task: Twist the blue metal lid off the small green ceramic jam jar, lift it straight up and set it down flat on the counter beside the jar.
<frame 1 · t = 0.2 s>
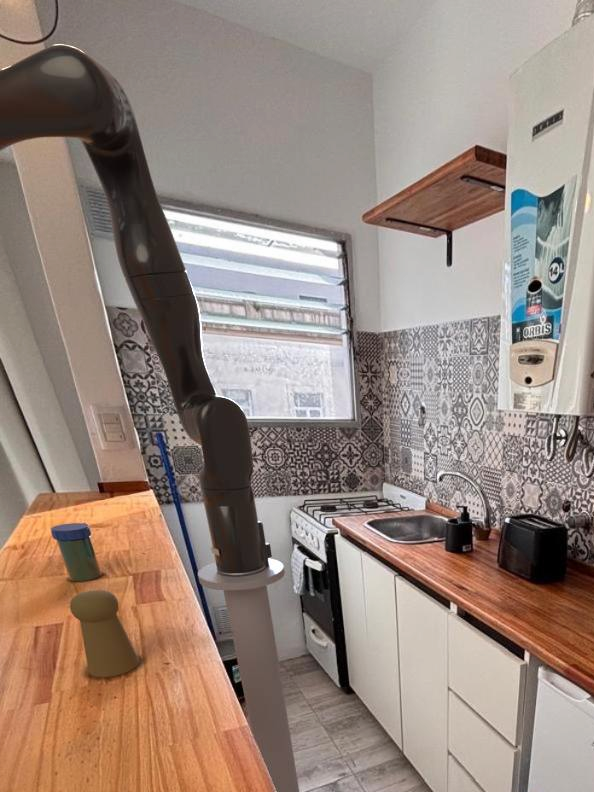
cork: (115, 667, 73), on the table
jam jar: (86, 576, 102), on the table
jar lid: (70, 528, 98), point 10 cm above the table, screwed on, not yet turned
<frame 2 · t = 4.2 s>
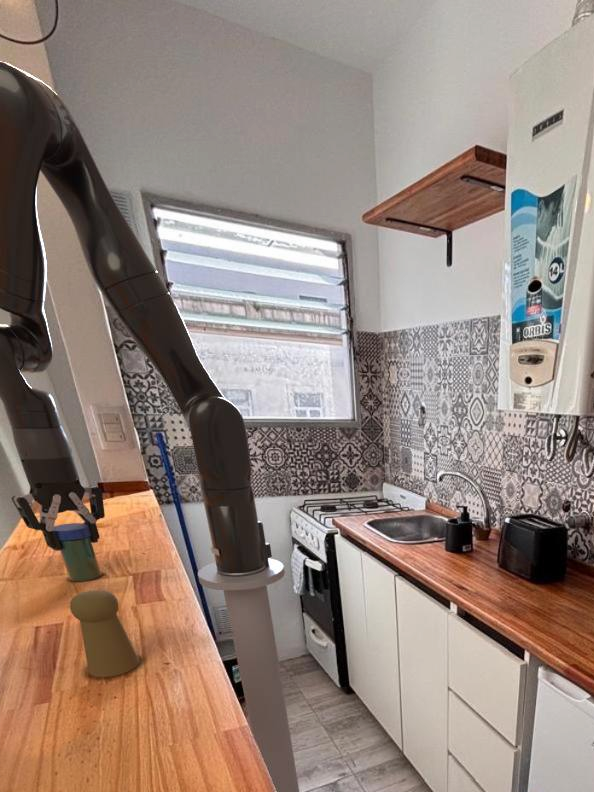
hand: (75, 545, 99), 6 cm above the table, tool pointing down, fingers closed on jar lid, 5 cm apart
jar lid: (70, 528, 98), point 10 cm above the table, screwed on, not yet turned, touching gripper
everything else where it was.
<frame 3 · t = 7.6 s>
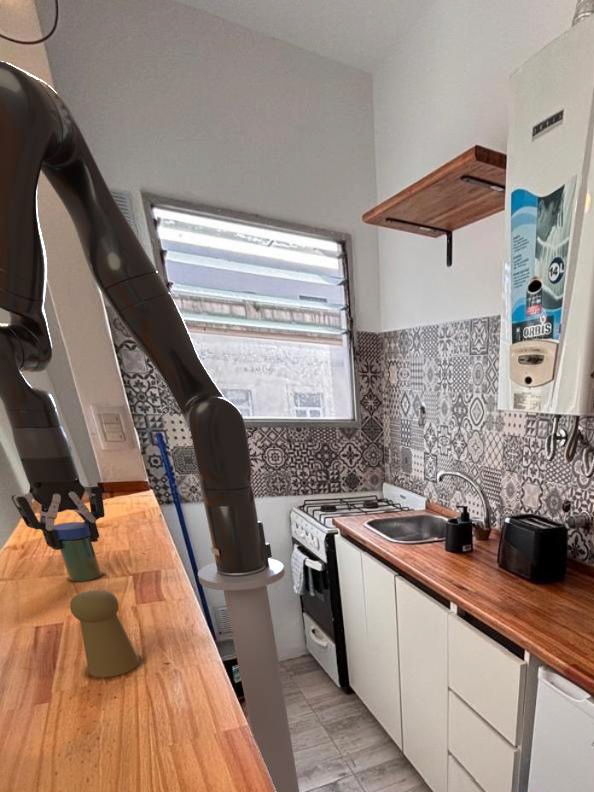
hand: (75, 544, 99), 7 cm above the table, tool pointing down, fingers closed on jar lid, 5 cm apart
jar lid: (70, 527, 98), point 10 cm above the table, turned 66° so far, risen 0.2 cm, still on its thread, touching gripper
everything else where it was.
when the fingers open (0 cm above the table, at t = 20.0 s): jar lid drops 2 cm, point 1 cm above the table.
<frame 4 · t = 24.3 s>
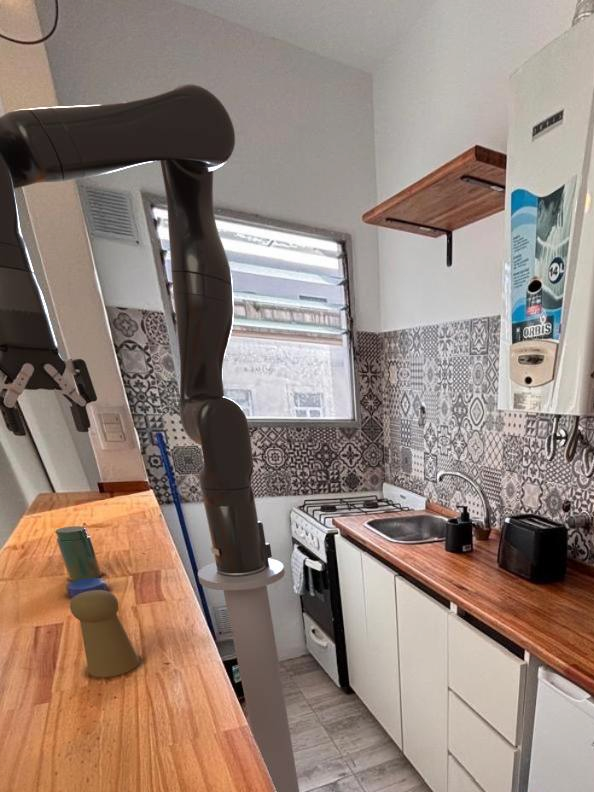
hand: (52, 433, 79), 28 cm above the table, tool pointing down, fingers open, 8 cm apart
jar lid: (86, 585, 95), point 1 cm above the table, off its thread
everything else where it was.
at the end: jar lid came off its thread; jar lid point 1.5 cm above the table; the gripper is holding nothing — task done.
